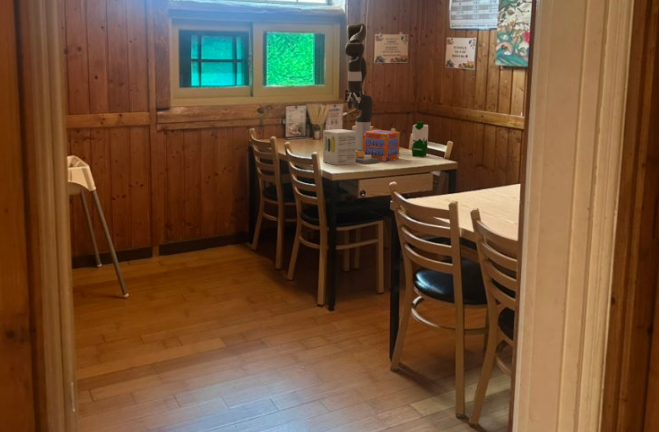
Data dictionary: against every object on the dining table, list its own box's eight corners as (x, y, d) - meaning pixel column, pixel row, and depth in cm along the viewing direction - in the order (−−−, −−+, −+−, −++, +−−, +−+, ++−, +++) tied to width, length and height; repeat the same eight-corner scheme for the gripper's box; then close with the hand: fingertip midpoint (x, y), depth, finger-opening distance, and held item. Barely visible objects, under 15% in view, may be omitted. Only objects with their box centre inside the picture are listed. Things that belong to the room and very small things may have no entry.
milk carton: (410, 156, 413) (411, 122, 408) (413, 154, 421) (415, 120, 417) (425, 157, 410) (426, 122, 406) (428, 155, 419) (429, 121, 414)
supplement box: (322, 162, 390) (322, 130, 386) (341, 160, 398) (341, 128, 394) (337, 165, 380) (337, 132, 376) (356, 163, 388) (356, 131, 384)
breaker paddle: (362, 156, 397) (361, 151, 397) (365, 155, 395) (364, 150, 395) (356, 157, 394) (354, 152, 394) (358, 156, 392) (357, 151, 392)
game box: (361, 159, 401) (362, 132, 398) (375, 156, 414) (375, 129, 411) (386, 162, 393) (387, 134, 390) (399, 158, 406) (400, 131, 403)
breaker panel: (357, 158, 405) (357, 151, 404) (379, 162, 391) (379, 155, 390) (342, 159, 398) (342, 152, 397) (363, 164, 384) (364, 156, 384)
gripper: (368, 80, 392) (368, 109, 396) (351, 78, 403) (351, 107, 407) (358, 80, 387) (358, 110, 392) (341, 79, 398) (341, 108, 402)
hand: (355, 109), depth 399 cm, fingers open, 8 cm apart
